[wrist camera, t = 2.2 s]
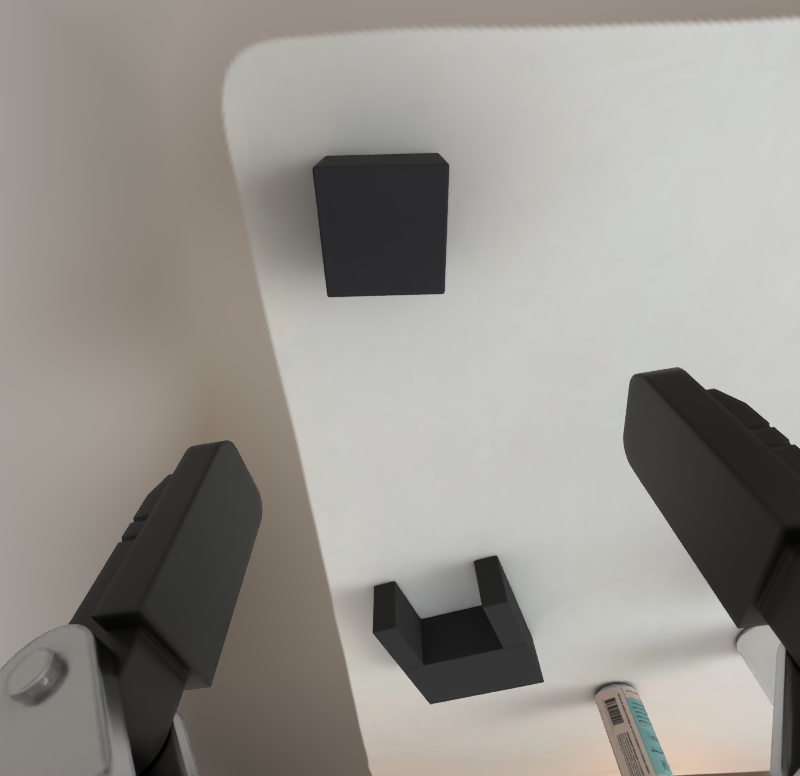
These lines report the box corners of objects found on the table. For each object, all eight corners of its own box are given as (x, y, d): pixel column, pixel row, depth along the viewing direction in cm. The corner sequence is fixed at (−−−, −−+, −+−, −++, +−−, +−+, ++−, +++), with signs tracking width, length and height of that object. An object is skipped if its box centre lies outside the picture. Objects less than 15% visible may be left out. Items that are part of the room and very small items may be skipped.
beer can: (588, 700, 51) (637, 846, 41) (598, 681, 49) (652, 832, 39) (629, 699, 51) (687, 844, 41) (641, 680, 49) (706, 830, 39)
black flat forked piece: (373, 586, 38) (372, 633, 35) (497, 555, 36) (508, 601, 33) (426, 660, 45) (430, 704, 42) (532, 637, 43) (544, 682, 40)
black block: (336, 269, 23) (327, 298, 19) (324, 155, 20) (311, 166, 17) (436, 266, 23) (444, 294, 19) (439, 152, 20) (449, 163, 17)
